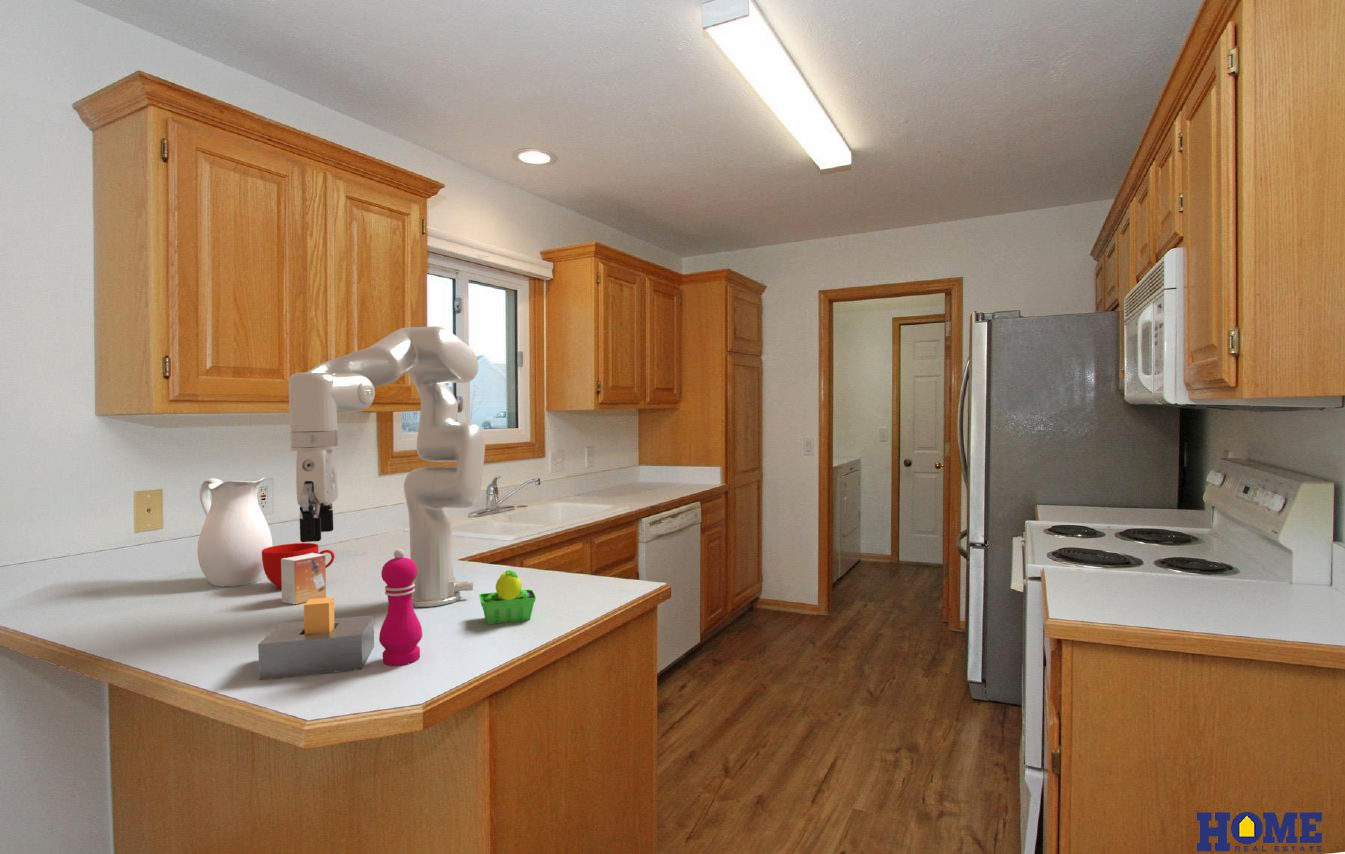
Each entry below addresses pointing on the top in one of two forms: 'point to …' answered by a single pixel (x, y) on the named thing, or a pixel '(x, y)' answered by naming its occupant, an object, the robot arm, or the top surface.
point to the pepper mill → (400, 612)
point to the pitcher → (232, 533)
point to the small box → (303, 578)
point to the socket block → (316, 648)
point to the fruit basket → (508, 600)
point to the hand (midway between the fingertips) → (317, 536)
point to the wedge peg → (319, 615)
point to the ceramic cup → (276, 553)
